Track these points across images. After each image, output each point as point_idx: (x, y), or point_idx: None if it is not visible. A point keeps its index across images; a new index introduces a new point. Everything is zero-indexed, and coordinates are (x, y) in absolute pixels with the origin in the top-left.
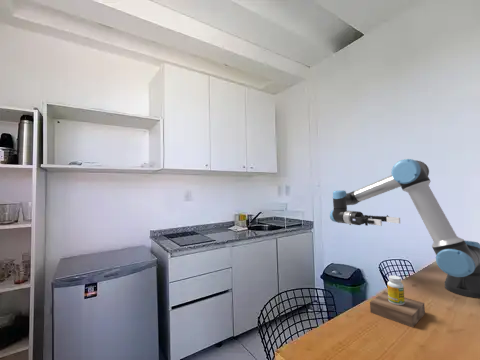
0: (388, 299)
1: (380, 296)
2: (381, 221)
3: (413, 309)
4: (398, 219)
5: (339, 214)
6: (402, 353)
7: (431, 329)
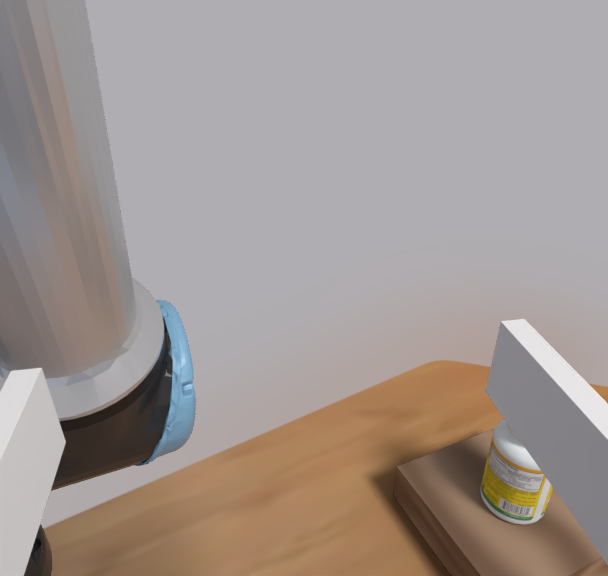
0: (545, 509)
1: (560, 566)
2: (497, 343)
3: (479, 444)
4: (47, 398)
5: None
6: (603, 390)
7: (454, 431)
